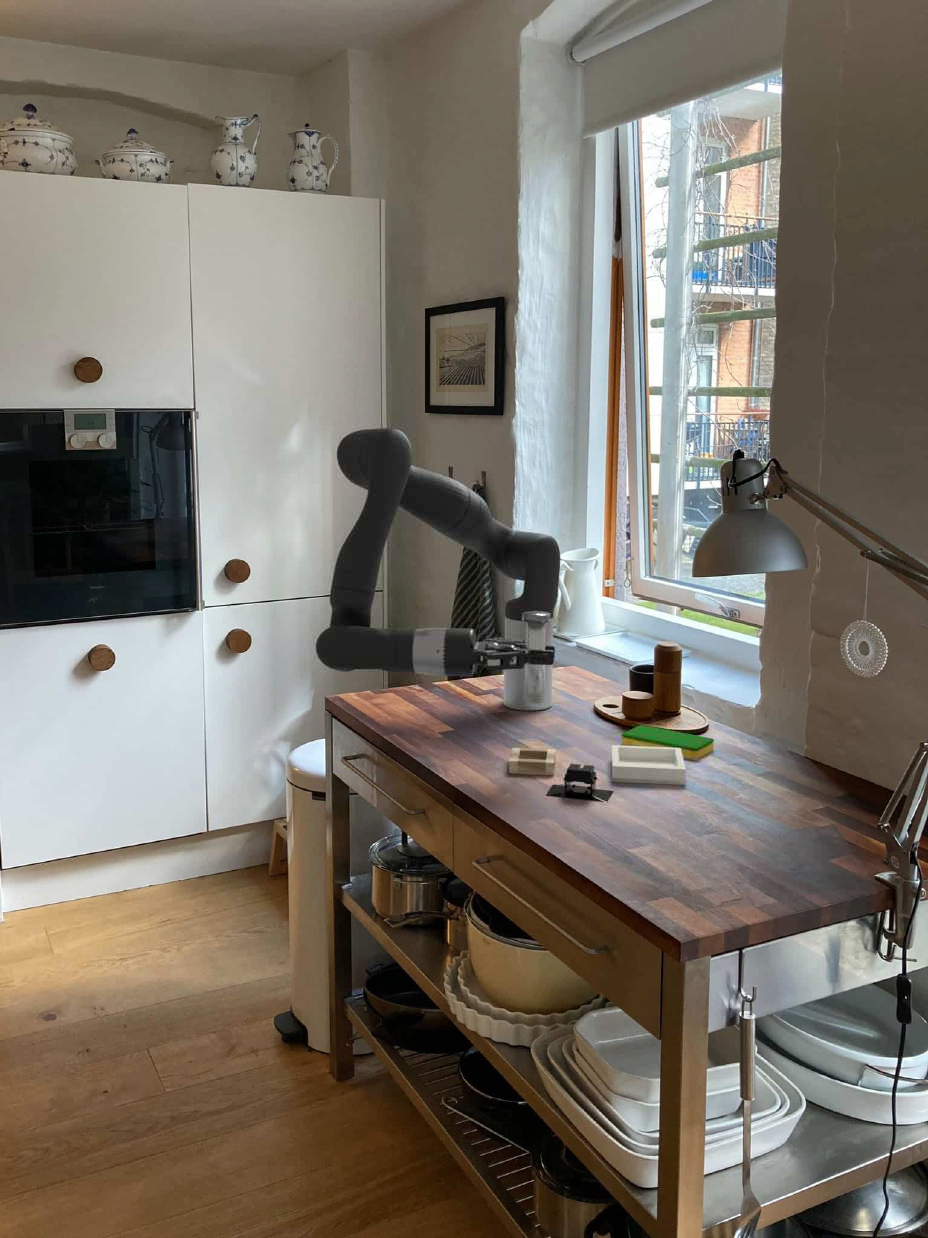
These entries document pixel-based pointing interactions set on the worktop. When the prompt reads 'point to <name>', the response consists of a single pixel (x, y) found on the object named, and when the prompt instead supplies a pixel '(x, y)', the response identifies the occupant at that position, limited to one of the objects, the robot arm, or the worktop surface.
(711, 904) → the worktop surface
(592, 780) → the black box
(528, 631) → the pin
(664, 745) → the dish sponge
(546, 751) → the socket block
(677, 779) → the dish
